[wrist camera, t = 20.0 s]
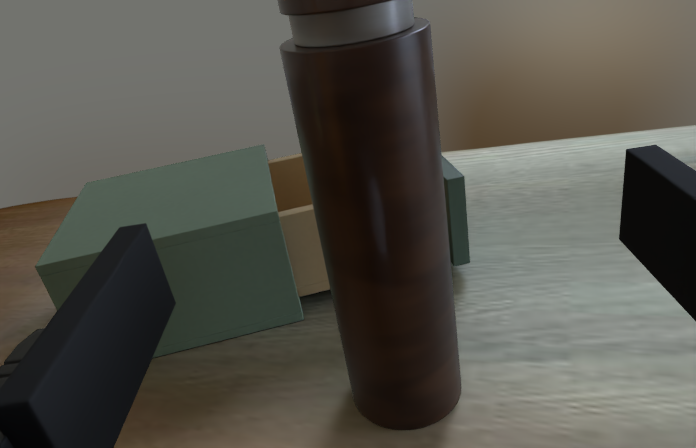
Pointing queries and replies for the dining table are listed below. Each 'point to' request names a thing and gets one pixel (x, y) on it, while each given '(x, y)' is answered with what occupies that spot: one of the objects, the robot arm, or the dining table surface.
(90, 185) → the cabinet
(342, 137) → the pepper mill
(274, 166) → the drawer
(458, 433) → the dining table surface
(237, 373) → the dining table surface
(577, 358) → the dining table surface
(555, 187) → the dining table surface
